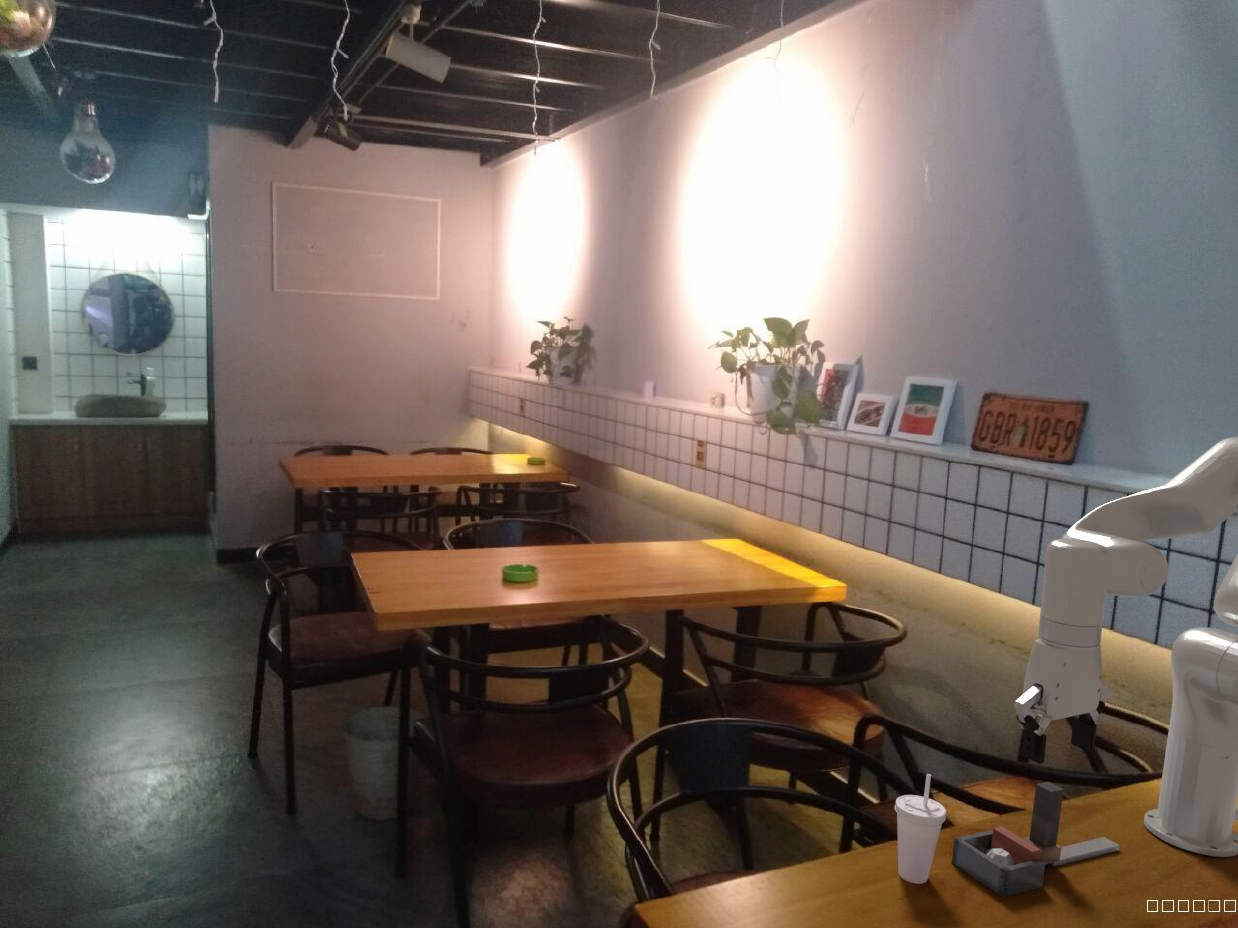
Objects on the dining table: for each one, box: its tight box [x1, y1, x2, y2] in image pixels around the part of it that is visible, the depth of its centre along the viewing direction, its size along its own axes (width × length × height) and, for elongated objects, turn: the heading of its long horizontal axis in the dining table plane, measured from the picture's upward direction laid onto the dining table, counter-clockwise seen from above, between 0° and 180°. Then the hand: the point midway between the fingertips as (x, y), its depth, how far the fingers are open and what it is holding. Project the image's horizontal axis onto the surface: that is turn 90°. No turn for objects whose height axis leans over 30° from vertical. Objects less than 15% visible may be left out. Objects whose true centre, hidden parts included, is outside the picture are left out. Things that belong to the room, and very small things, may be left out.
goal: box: [951, 829, 1046, 898], centre depth 122 cm, size 7×9×4 cm
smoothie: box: [894, 773, 947, 885], centre depth 120 cm, size 6×6×14 cm
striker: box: [991, 781, 1064, 866], centre depth 124 cm, size 8×6×10 cm
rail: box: [1049, 836, 1120, 867], centre depth 129 cm, size 14×2×1 cm, turn 116°
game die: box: [986, 848, 1014, 867], centre depth 123 cm, size 4×4×3 cm
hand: (1057, 753), depth 124 cm, fingers open, 9 cm apart
